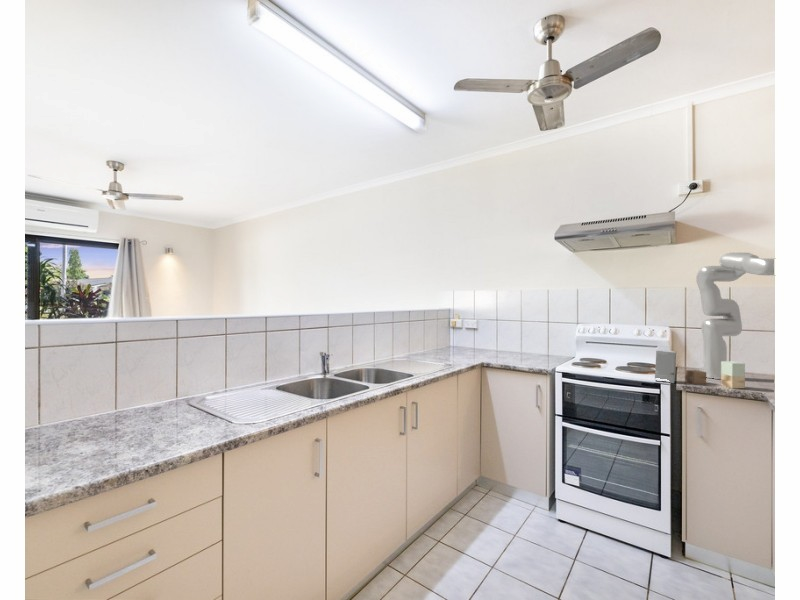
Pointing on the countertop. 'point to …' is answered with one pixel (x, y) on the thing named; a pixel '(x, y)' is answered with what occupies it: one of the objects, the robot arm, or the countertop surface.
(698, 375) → the walnut block
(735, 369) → the sage block
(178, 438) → the countertop surface
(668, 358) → the skincare box
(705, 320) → the robot arm
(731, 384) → the oak block
